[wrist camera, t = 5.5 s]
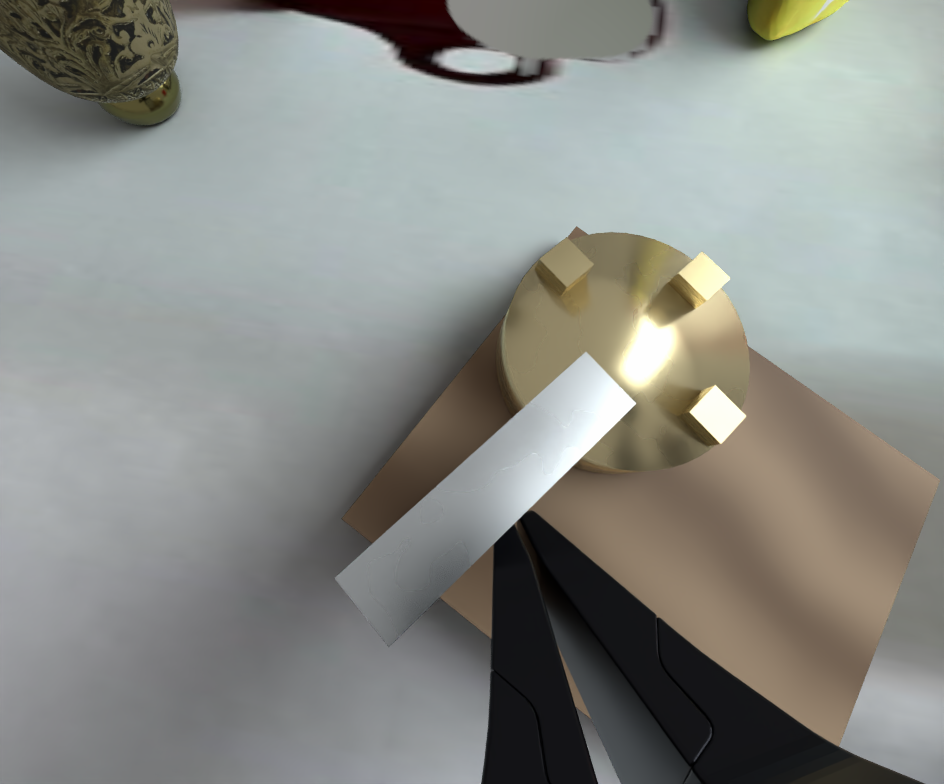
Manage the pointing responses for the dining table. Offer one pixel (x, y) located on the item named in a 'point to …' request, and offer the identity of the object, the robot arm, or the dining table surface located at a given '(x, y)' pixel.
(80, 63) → the cup
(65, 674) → the dining table surface
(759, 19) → the bottle
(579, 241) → the ring nut spanner
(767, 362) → the walnut base
